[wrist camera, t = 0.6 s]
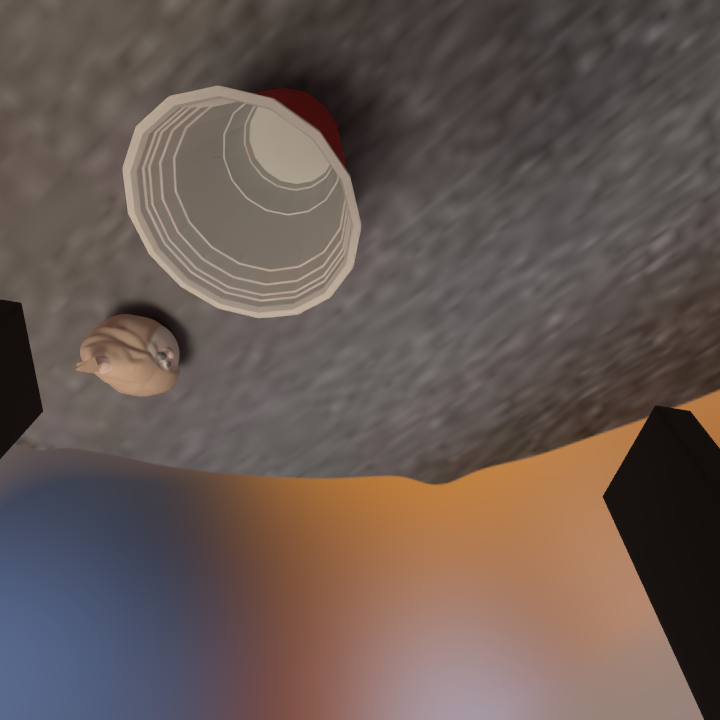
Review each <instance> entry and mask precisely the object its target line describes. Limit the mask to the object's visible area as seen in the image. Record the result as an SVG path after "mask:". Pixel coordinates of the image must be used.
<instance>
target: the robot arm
mask: <svg viewBox="0 0 720 720" xmlns="http://www.w3.org/2000/svg"><path fill="white" fill-rule="evenodd" d="M42 412H43V408H42V403H41V398H40V393H39V389H38V384H37V379H36V374H35V369H34V364H33V359H32V354H31V349H30V344H29V339H28V334H27V329H26V324H25V319H24V314H23V309H22V304H21V303H19V302H12V301H6V300H0V459H1V458H2V456H3V455H4V454H5V453H6V452H7V451H8V450H9V449H10V448H11V446H12V445H13V444H14V443H15V442H16V441H17V440H18V439H19V438H20V436H21V435H22V434H23V433H24V432H25V431H26V430H27V429H28V428H29V426H30V425H31V424H32V423H33V422H34V421H35V420H36V419H37V418H38V416H39V415H40V414H41V413H42ZM603 498H604V501H605V503H606V505H607V507H608V509H609V511H610V514H611V516H612V518H613V520H614V523H615V525H616V527H617V529H618V531H619V533H620V536H621V538H622V540H623V542H624V545H625V546H626V549H627V551H628V553H629V555H630V558H631V560H632V562H633V564H634V566H635V569H636V571H637V573H638V575H639V577H640V580H641V582H642V584H643V586H644V588H645V591H646V593H647V595H648V597H649V599H650V602H651V604H652V606H653V608H654V610H655V613H656V615H657V617H658V619H659V621H660V624H661V626H662V628H663V630H664V632H665V634H666V636H667V639H668V641H669V643H670V646H671V647H672V650H673V652H674V654H675V656H676V659H677V661H678V663H679V665H680V667H681V670H682V672H683V674H684V676H685V678H686V681H687V683H688V685H689V687H690V689H691V692H692V694H693V696H694V698H695V700H696V702H697V705H698V707H699V709H700V711H701V714H702V716H703V718H704V720H720V448H719V447H718V446H717V445H716V443H715V442H714V441H713V440H712V438H711V437H710V436H709V434H708V433H707V432H706V431H705V429H704V428H703V427H702V426H701V424H700V423H699V422H698V420H697V419H696V418H695V416H694V415H693V414H692V413H691V411H687V410H681V409H674V408H668V407H662V406H656V405H655V407H654V409H653V410H652V412H651V414H650V416H649V417H648V419H647V421H646V423H645V424H644V426H643V428H642V430H641V431H640V433H639V435H638V436H637V438H636V440H635V442H634V444H633V445H632V447H631V448H630V450H629V452H628V454H627V456H626V457H625V459H624V461H623V462H622V464H621V466H620V468H619V470H618V471H617V473H616V474H615V476H614V478H613V480H612V481H611V483H610V485H609V487H608V488H607V490H606V492H605V493H604V495H603Z"/></svg>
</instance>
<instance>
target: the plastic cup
mask: <svg viewBox="0 0 720 720" xmlns="http://www.w3.org/2000/svg"><path fill="white" fill-rule="evenodd" d="M122 169H123V177H124V185H125V193H126V201H127V209H128V214H129V216H130V218H131V220H132V222H133V224H134V226H135V228H136V230H137V231H138V233H139V235H140V237H141V239H142V241H143V243H144V245H145V247H146V249H147V251H148V253H149V254H150V255H151V256H152V258H153V259H154V260H155V261H156V262H157V263H158V264H159V265H160V266H161V267H162V268H163V269H164V270H165V271H166V272H167V273H168V274H169V275H170V276H171V277H172V278H173V279H174V280H175V281H176V282H177V283H178V284H179V285H180V287H182V288H184V289H186V290H187V291H189V292H191V293H193V294H194V295H196V296H198V297H199V298H201V299H203V300H205V301H206V302H208V303H210V304H211V305H213V306H215V307H217V308H218V309H222V310H227V311H231V312H235V313H239V314H243V315H247V316H252V317H256V318H266V317H277V316H288V315H298V314H300V313H301V312H303V311H305V310H307V309H309V308H311V307H313V306H315V305H317V304H319V303H321V302H323V301H325V300H327V299H328V298H330V297H331V296H332V295H333V293H334V292H335V291H336V289H337V288H338V287H339V285H340V284H341V283H342V281H343V280H344V279H345V277H346V276H347V275H348V274H349V272H350V271H351V270H352V268H353V266H354V261H355V256H356V251H357V246H358V241H359V236H360V230H361V221H360V217H359V213H358V208H357V204H356V200H355V195H354V191H353V186H352V182H351V178H350V174H349V173H348V171H347V170H346V166H345V158H344V153H343V149H342V144H341V140H340V136H339V132H338V128H337V123H336V122H335V120H334V119H333V117H332V116H331V114H330V113H329V111H328V110H327V108H326V106H325V105H324V104H323V103H321V102H320V101H318V100H317V99H315V98H314V97H313V96H311V95H310V94H308V93H307V92H303V91H299V90H294V89H290V88H282V89H270V90H266V91H262V92H257V93H249V92H245V91H241V90H237V89H233V88H228V87H224V86H213V87H209V88H204V89H200V90H195V91H190V92H186V93H181V94H177V95H172V96H169V97H168V98H167V99H165V100H164V101H163V102H162V103H161V104H160V105H159V106H158V107H157V108H156V109H154V110H153V111H152V112H151V113H150V114H149V115H148V116H147V117H146V118H145V119H143V120H142V121H141V122H140V123H139V124H138V125H137V126H136V128H135V131H134V134H133V137H132V140H131V143H130V146H129V149H128V152H127V156H126V159H125V162H124V165H123V168H122Z"/></svg>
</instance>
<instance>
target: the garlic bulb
mask: <svg viewBox="0 0 720 720" xmlns="http://www.w3.org/2000/svg"><path fill="white" fill-rule="evenodd" d="M80 354H81V358H82V361H83V362H81V363H78V364H76V365H77V366H78V367H79V368H77V369H76V371H82V372H88V373H95V374H96V375H97V376H98V377H99V378H100V379H102V380H103V381H105V382H106V383H108V384H109V385H111V386H112V387H113V388H114V389H116V390H117V391H118V392H120V393H123V394H128V395H134V396H151V395H155V394H159V393H161V392H166V391H168V390H169V389H170V388H171V387H172V386H173V385H174V383H175V382H176V380H177V378H178V376H179V373H180V369H179V366H178V363H179V347H178V343H177V341H176V339H175V337H174V336H173V334H172V333H171V332H170V331H169V330H168V329H167V328H165V327H164V326H162V325H161V324H160V323H159V322H157V321H155V320H153V319H150V318H146V317H142V316H135V315H131V314H120V315H116V316H112V317H110V318H108V319H106V320H104V321H103V322H101V323H100V324H99V325H98V326H97V327H96V328H95V329H94V330H93V331H92V332H91V334H90V335H89V337H88V338H86V339H85V340H84V341H83V343H82V345H81V349H80Z"/></svg>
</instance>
